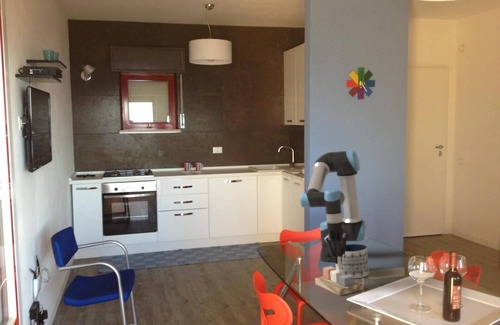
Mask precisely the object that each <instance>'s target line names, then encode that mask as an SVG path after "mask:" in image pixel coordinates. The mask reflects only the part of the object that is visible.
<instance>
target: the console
mask: <svg viewBox="0 0 500 325" xmlns="http://www.w3.org/2000/svg"><path fill="white" fill-rule="evenodd" d="M353 280H354V279H353ZM314 282H315V285H317V286H319V287H321V288H323V289H325V290H327V291H329V292H332V293H334V294H335V295H337V296H344V295H349V294H352V293H357V292H360V291H363V290H364V284H363V282H359V281H357V280H354V285H352V286H348V287H343V286H341V285H339V283H335V282H332V281H331V280H328V279H325V278H323V276H320V277H319V276H318V277H315V278H314Z"/></svg>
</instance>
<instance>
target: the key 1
mask: <svg viewBox="0 0 500 325" xmlns="http://www.w3.org/2000/svg"><path fill="white" fill-rule="evenodd" d="M333 270H336V267H334V266H331V265H330V266H325V267H323V268H322V277H323V278H325V279H328V280H331V275H330V272H331V271H333Z"/></svg>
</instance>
